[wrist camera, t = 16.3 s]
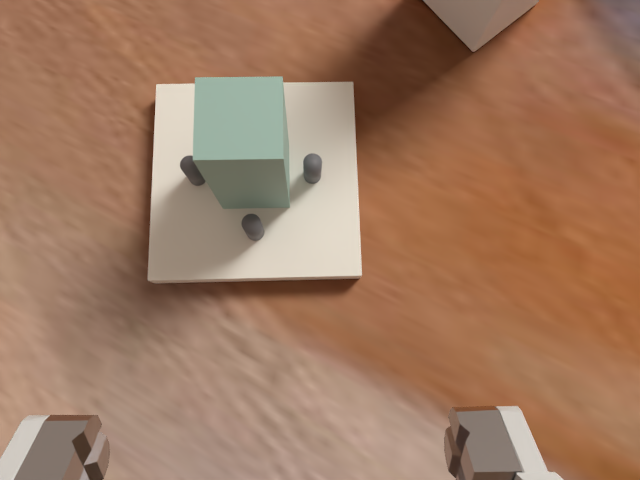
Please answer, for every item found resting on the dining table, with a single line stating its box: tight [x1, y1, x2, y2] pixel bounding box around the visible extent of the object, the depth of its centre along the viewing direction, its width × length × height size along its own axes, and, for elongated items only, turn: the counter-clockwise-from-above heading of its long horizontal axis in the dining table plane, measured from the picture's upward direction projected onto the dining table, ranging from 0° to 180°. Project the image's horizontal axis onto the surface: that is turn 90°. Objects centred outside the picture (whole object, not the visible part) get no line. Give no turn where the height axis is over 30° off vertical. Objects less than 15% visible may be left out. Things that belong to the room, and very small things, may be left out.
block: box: [193, 77, 290, 209], centre depth 29 cm, size 4×4×9 cm
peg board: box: [148, 82, 362, 283], centre depth 33 cm, size 14×14×4 cm
